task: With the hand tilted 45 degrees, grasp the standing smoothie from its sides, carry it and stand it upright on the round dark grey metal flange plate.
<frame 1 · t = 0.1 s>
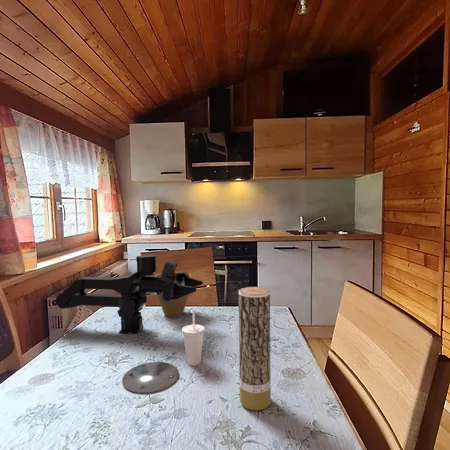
hand: (199, 286, 106), 17 cm above the table, tool horizontal, fingers open, 9 cm apart
flange plate: (151, 377, 79), on the table
smoothie: (193, 362, 87), on the table
plant pot: (174, 314, 127), on the table
paper tube: (255, 403, 69), on the table
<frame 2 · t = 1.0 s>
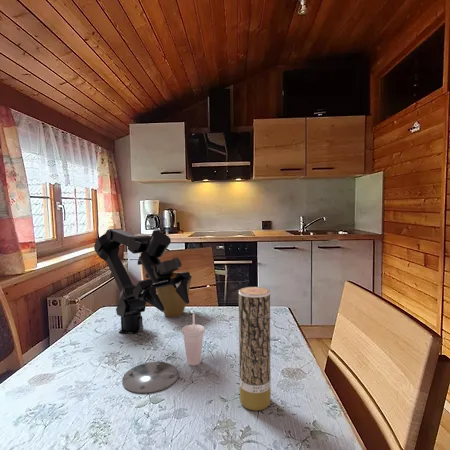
hand: (176, 306, 92), 14 cm above the table, tool tilted 45°, fingers open, 9 cm apart
nothing on the table moved.
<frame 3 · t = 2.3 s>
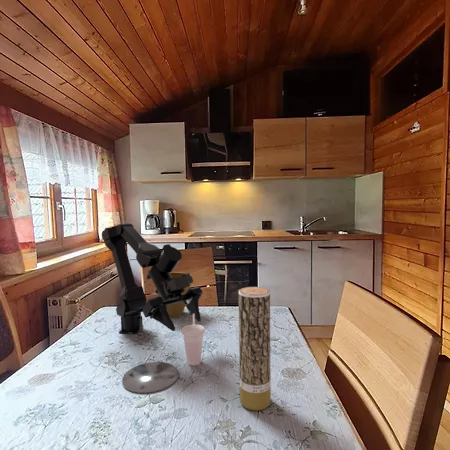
hand: (187, 325, 88), 10 cm above the table, tool tilted 45°, fingers open, 9 cm apart
nothing on the table moved.
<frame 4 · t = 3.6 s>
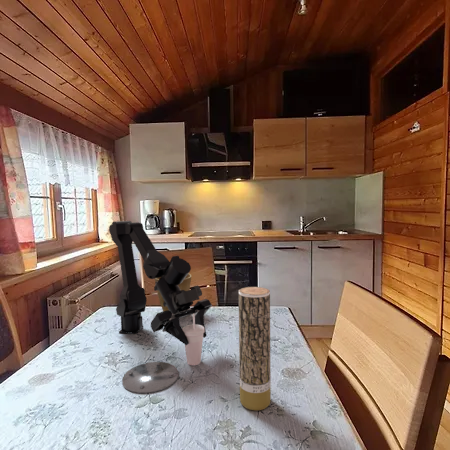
hand: (196, 340, 86), 7 cm above the table, tool tilted 45°, fingers closed on smoothie, 6 cm apart
smoothie: (193, 362, 87), on the table, touching gripper
everything else where it was.
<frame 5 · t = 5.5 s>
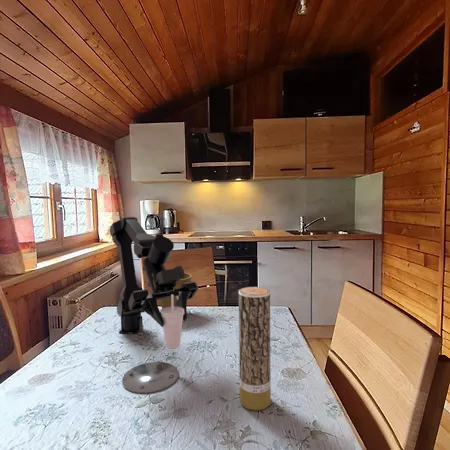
hand: (174, 323, 81), 13 cm above the table, tool tilted 45°, fingers closed on smoothie, 6 cm apart
smoothie: (172, 346, 82), point 6 cm above the table, touching gripper
everything else where it was.
when the fingers open (8 cm above the table, at t = 7.2 s): smoothie drops 1 cm, resting on flange plate.
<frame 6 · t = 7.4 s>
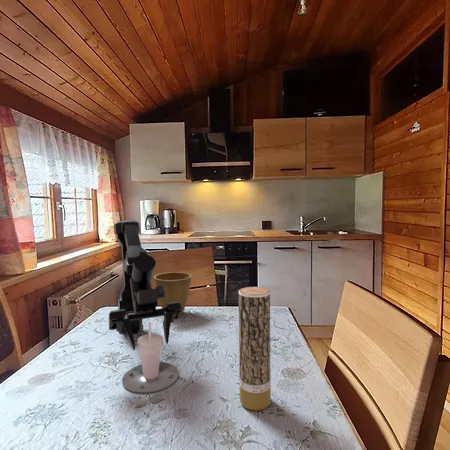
hand: (151, 346, 78), 9 cm above the table, tool tilted 45°, fingers open, 8 cm apart
smoothie: (150, 375, 79), resting on flange plate
everything else where it was.
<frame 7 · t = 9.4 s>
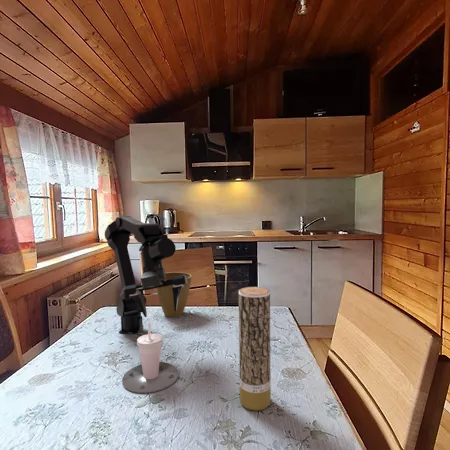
hand: (160, 313, 94), 11 cm above the table, tool tilted 15°, fingers open, 9 cm apart
nothing on the table moved.
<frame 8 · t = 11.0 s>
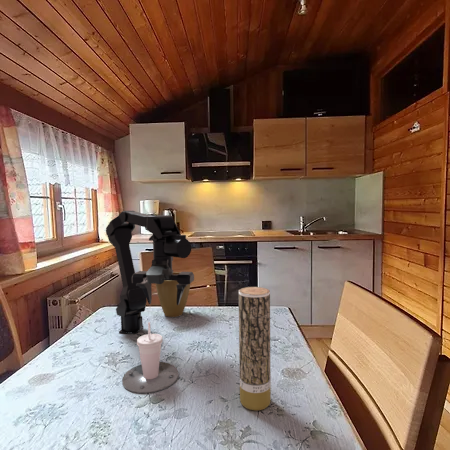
hand: (163, 304, 98), 13 cm above the table, tool pointing down, fingers open, 9 cm apart
nothing on the table moved.
at the end: smoothie 0.0 cm from the flange plate (horizontally); smoothie tilted 0°; the gripper is holding nothing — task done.
